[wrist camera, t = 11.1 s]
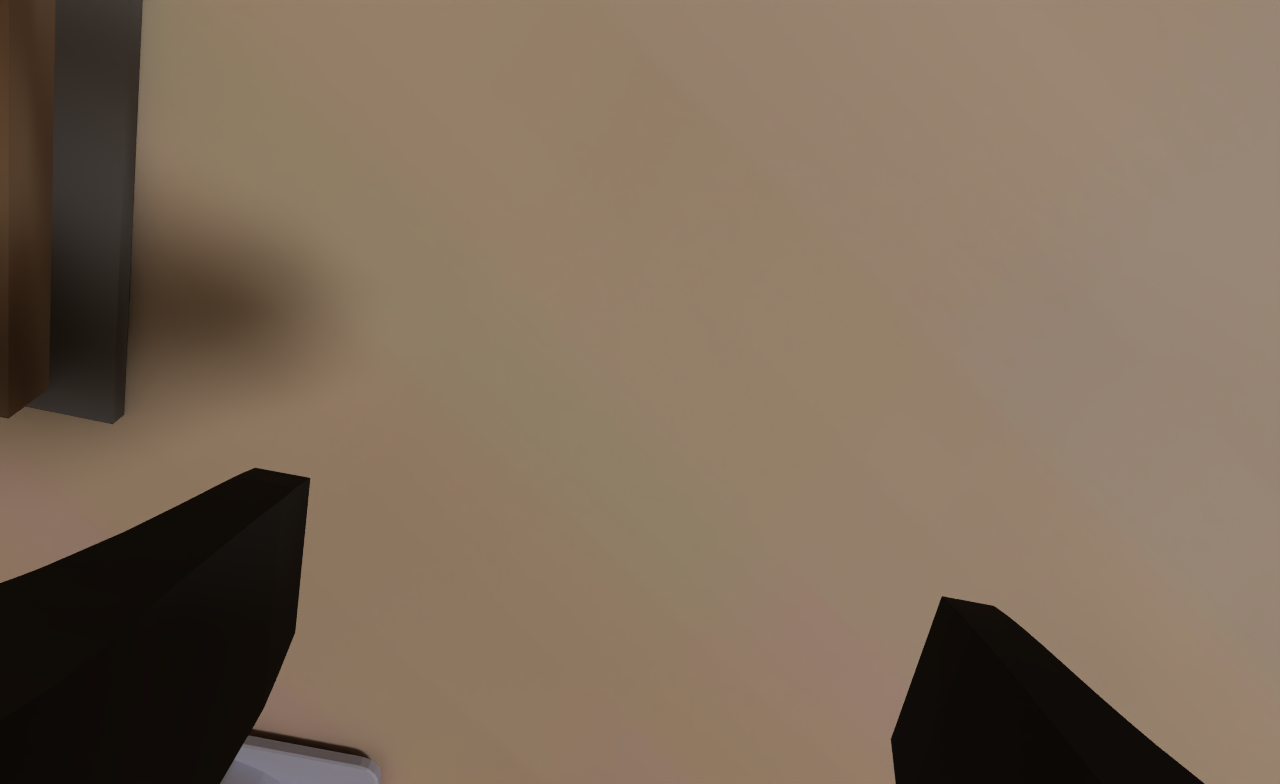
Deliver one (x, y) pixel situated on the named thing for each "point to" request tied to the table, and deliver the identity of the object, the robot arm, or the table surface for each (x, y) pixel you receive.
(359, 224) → the table surface
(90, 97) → the shelf
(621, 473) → the table surface
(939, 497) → the table surface
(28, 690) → the robot arm
